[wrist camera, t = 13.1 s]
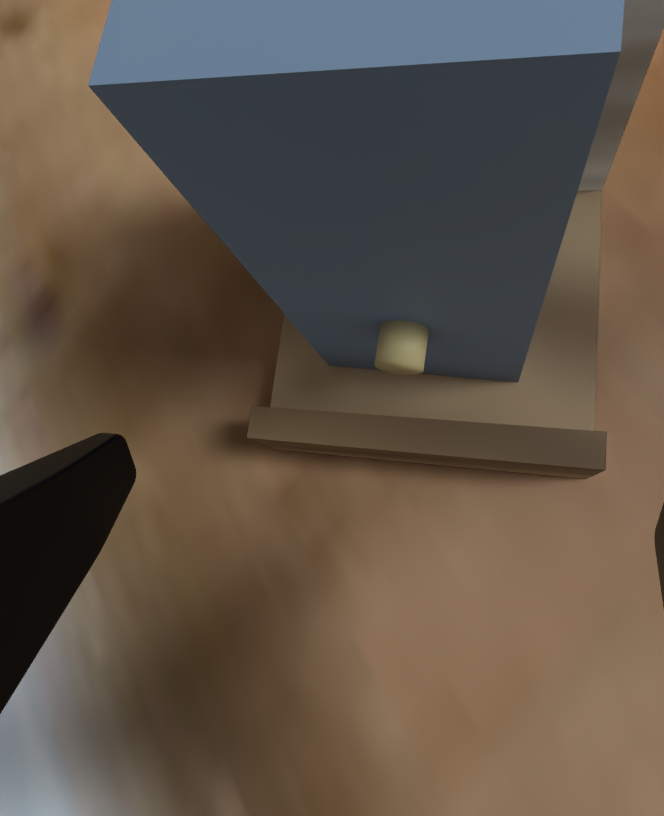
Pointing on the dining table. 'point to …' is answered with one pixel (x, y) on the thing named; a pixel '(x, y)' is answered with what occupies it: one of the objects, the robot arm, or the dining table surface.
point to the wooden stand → (478, 398)
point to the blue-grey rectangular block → (376, 157)
